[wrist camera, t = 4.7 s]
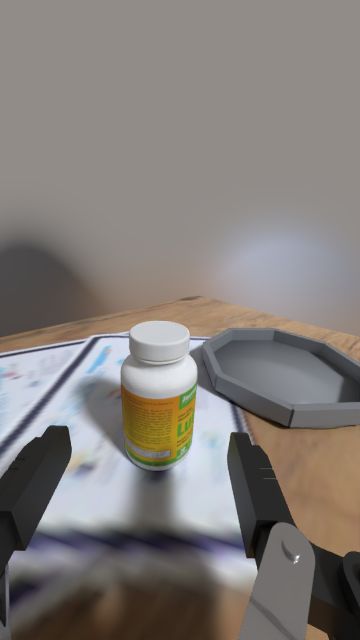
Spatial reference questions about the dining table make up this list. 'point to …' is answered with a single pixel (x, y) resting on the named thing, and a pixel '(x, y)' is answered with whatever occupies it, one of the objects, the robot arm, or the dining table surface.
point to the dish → (285, 377)
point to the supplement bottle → (158, 395)
